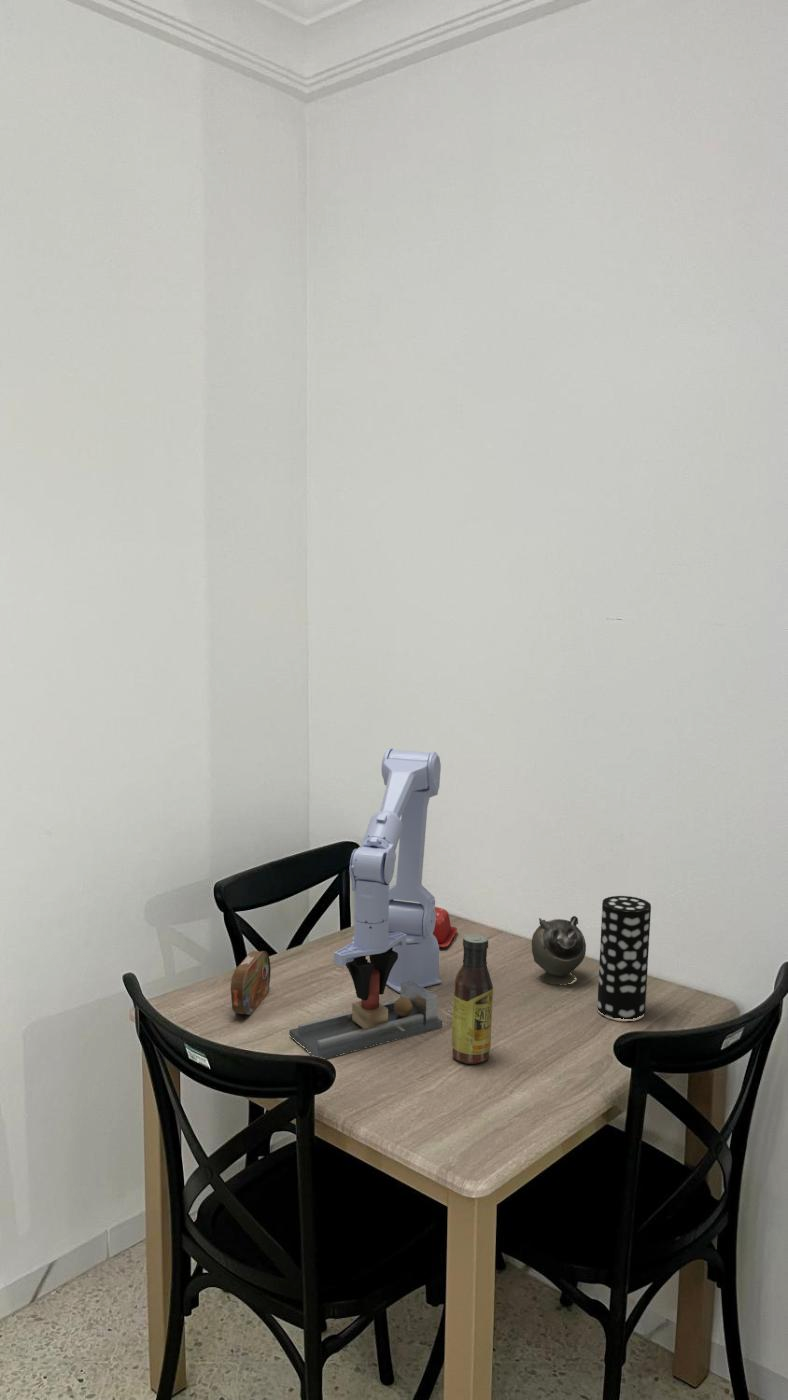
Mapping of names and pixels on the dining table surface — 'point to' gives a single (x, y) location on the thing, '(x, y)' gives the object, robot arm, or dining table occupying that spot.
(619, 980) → the white-spotted black cylinder
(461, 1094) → the dining table surface
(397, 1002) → the nut
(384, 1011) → the press slider
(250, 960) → the tin
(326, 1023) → the base
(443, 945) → the butter dish
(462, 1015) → the sauce bottle
